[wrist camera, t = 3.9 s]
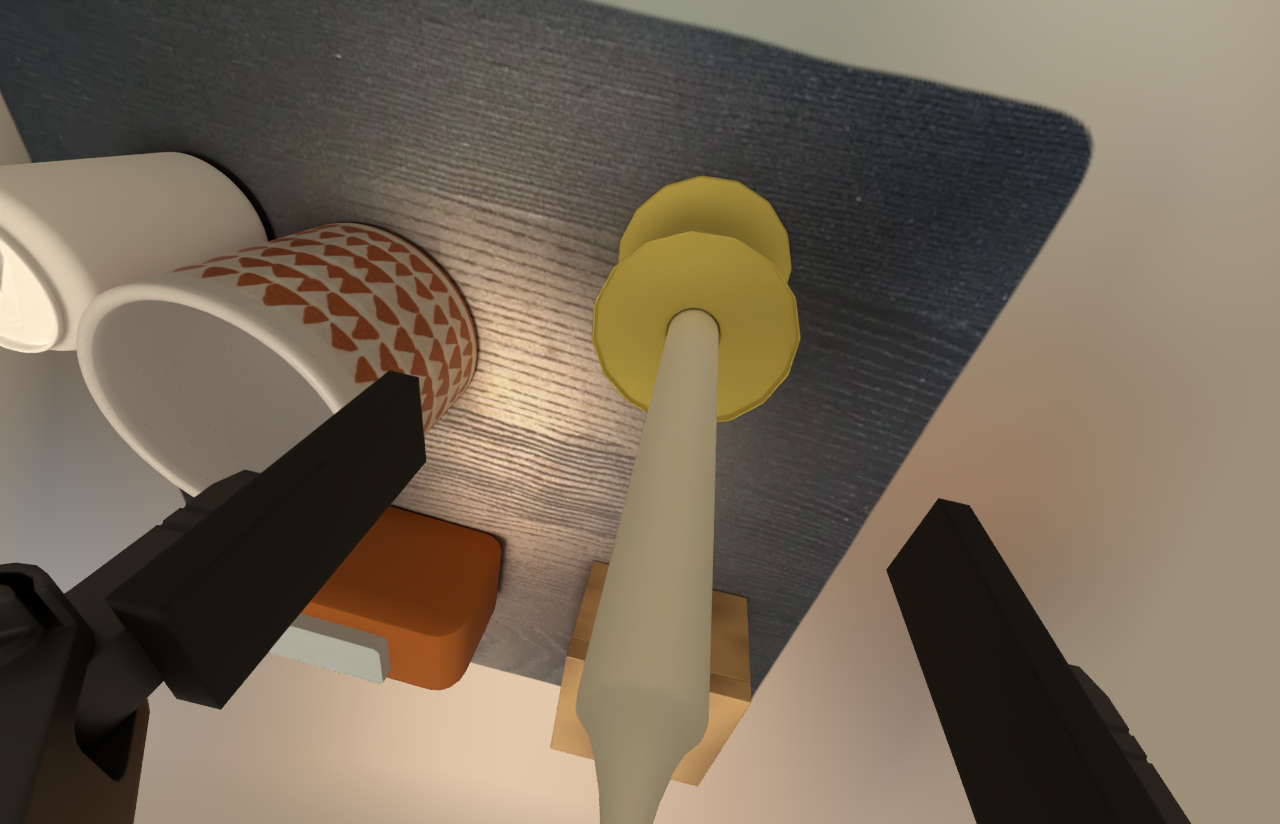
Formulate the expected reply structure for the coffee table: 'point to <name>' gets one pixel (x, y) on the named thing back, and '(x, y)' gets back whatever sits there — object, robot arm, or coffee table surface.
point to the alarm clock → (402, 604)
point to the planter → (270, 347)
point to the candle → (676, 464)
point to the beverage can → (105, 234)
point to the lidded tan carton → (725, 679)
